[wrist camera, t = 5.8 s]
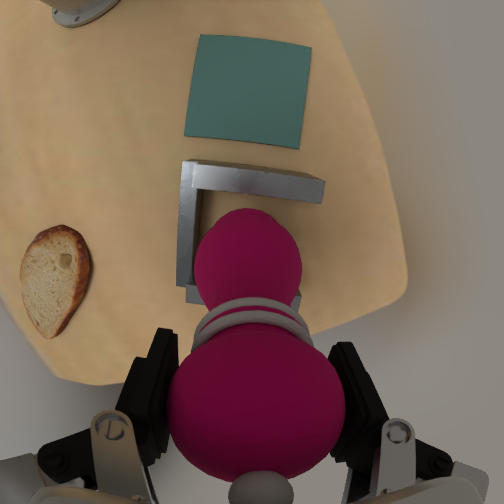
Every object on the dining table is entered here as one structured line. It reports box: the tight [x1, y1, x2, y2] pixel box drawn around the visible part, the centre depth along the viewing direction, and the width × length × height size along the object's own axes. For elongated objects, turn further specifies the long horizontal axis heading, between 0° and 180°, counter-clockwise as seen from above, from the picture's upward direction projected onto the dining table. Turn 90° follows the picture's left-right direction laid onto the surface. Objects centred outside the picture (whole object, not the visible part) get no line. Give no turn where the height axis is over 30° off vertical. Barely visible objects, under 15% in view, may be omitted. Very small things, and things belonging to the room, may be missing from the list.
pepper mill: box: [166, 208, 346, 504], centre depth 14 cm, size 7×7×20 cm
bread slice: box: [20, 225, 90, 339], centre depth 32 cm, size 18×18×4 cm
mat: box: [184, 35, 312, 149], centre depth 25 cm, size 12×12×1 cm
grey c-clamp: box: [176, 159, 325, 313], centre depth 29 cm, size 20×13×7 cm, turn 173°
